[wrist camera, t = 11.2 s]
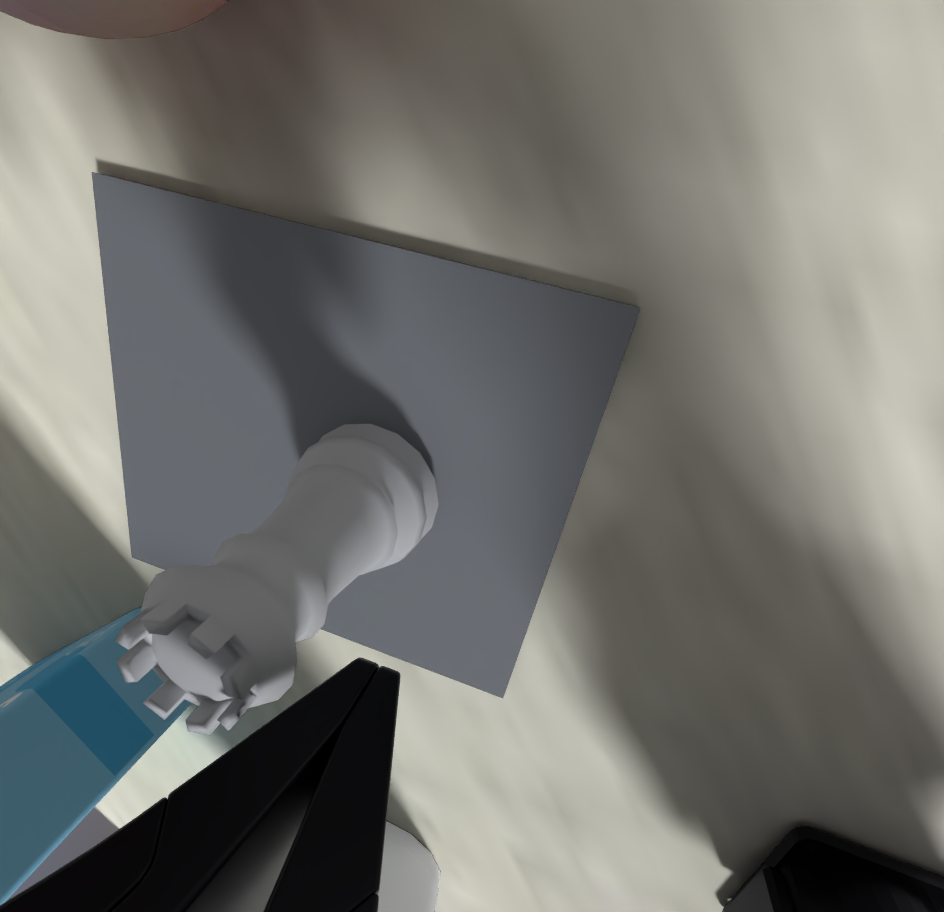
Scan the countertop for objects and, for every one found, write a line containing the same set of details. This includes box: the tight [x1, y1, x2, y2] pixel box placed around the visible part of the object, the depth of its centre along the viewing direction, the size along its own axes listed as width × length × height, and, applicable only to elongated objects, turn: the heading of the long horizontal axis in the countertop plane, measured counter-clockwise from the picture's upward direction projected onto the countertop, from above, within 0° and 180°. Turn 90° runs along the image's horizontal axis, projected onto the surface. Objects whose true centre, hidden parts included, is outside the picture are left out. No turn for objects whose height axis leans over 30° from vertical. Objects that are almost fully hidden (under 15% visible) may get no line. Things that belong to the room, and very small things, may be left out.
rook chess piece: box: [115, 424, 439, 735], centre depth 12 cm, size 4×4×8 cm
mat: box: [92, 172, 640, 698], centre depth 16 cm, size 16×14×1 cm
